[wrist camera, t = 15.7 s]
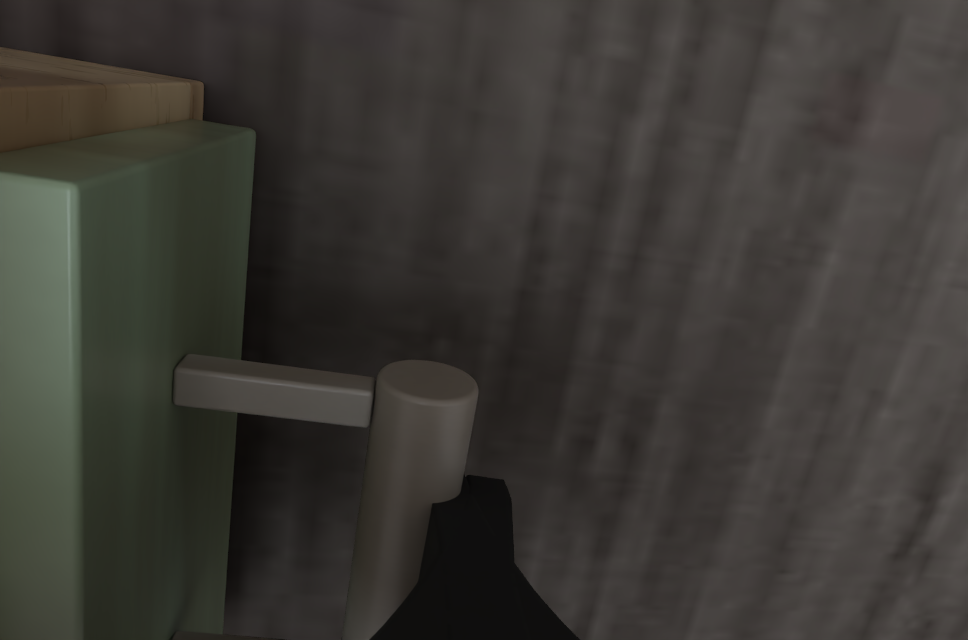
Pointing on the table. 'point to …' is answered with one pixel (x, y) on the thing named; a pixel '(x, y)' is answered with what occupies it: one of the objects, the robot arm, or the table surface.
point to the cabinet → (84, 99)
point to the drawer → (172, 396)
